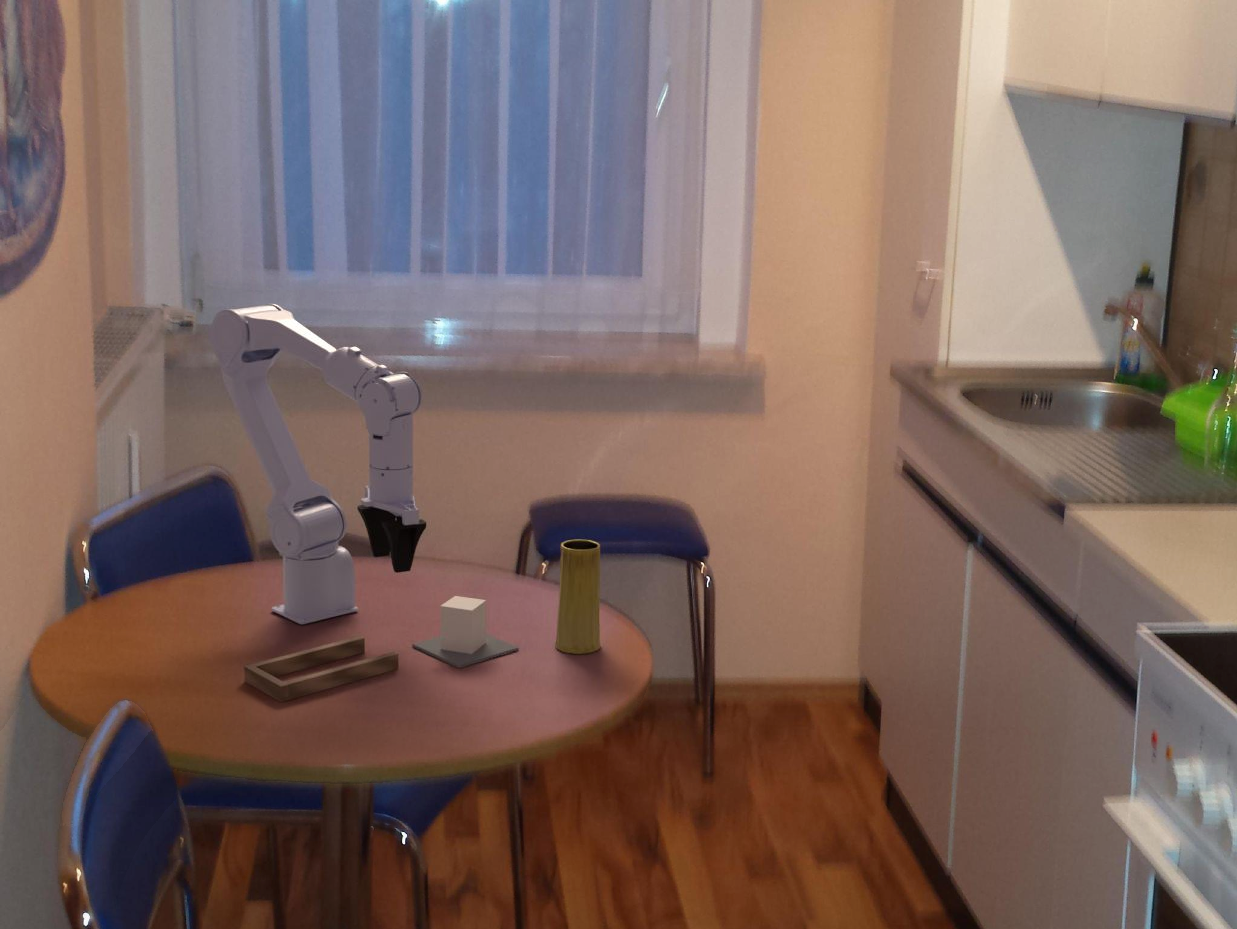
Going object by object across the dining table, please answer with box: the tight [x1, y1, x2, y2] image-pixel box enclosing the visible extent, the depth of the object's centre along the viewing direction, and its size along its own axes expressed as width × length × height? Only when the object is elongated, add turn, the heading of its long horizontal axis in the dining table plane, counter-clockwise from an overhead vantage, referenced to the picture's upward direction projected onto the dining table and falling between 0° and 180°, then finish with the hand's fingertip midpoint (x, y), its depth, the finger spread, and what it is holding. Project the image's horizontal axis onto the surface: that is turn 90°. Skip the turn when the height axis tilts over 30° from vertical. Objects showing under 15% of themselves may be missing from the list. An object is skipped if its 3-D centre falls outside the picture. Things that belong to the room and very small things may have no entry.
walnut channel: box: [243, 635, 399, 703], centre depth 178 cm, size 17×8×2 cm, turn 134°
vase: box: [554, 538, 602, 655], centre depth 189 cm, size 6×6×14 cm
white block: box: [439, 595, 487, 654], centre depth 188 cm, size 4×4×6 cm
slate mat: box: [411, 633, 520, 669], centre depth 189 cm, size 10×10×1 cm
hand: (391, 563), depth 192 cm, fingers open, 7 cm apart
